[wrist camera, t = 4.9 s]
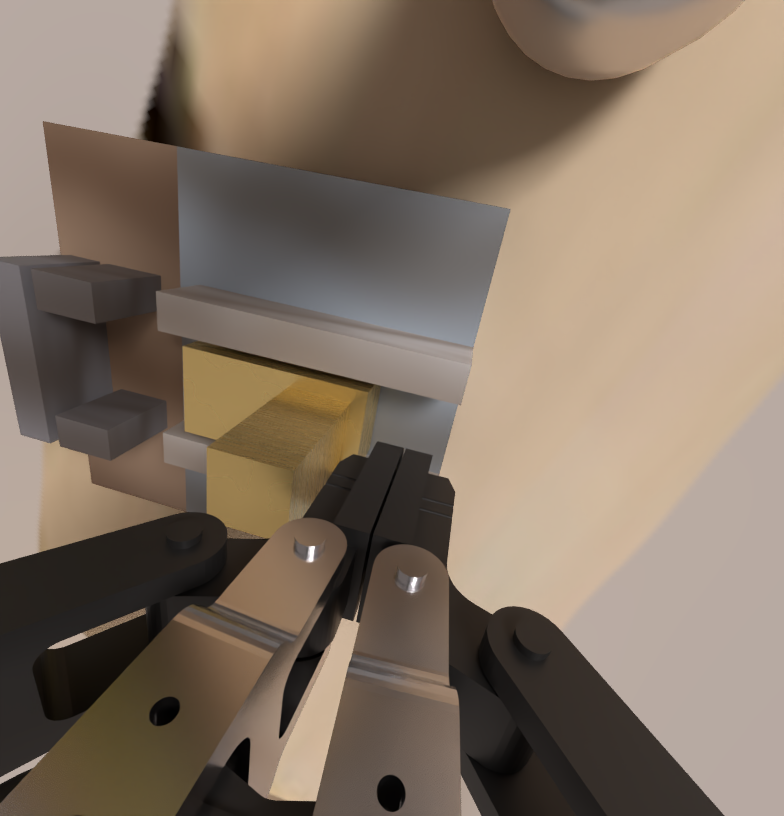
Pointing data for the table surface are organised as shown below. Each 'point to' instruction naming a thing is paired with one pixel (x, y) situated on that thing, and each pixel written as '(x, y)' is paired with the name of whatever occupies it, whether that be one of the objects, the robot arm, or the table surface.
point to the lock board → (233, 300)
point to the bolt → (271, 432)
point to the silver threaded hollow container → (607, 32)
